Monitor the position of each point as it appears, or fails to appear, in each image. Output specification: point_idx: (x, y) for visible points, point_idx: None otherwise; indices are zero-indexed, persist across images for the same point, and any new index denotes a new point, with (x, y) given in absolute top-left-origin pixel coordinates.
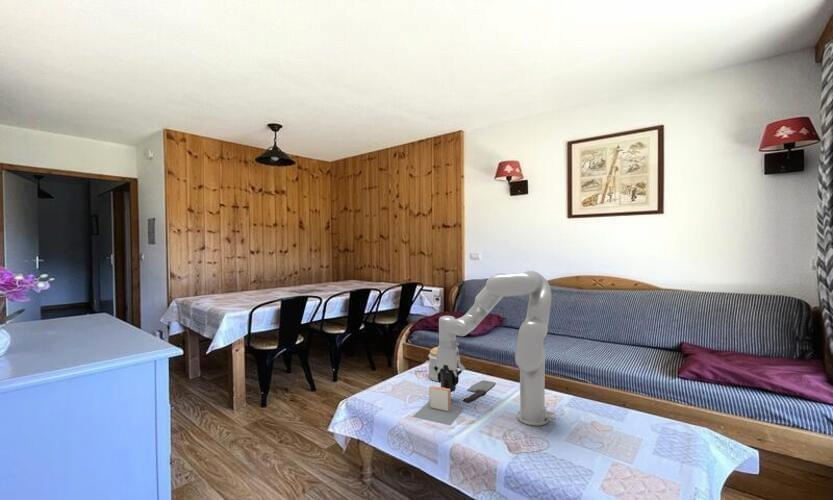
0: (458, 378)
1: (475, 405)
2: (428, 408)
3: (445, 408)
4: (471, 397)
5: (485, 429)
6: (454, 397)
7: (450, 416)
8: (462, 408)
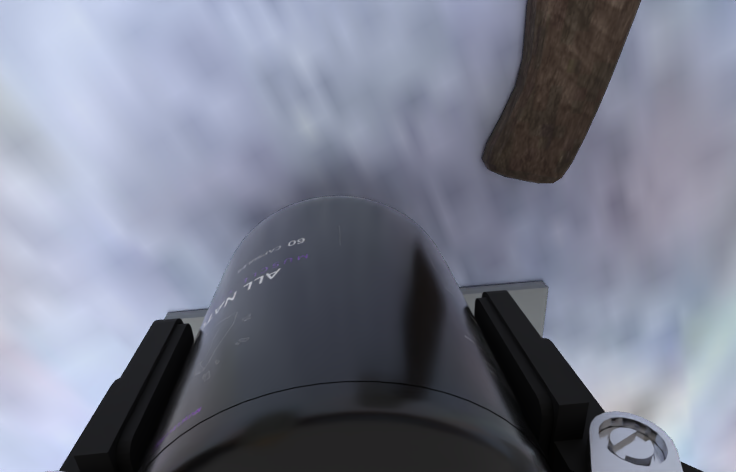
0: (579, 382)
1: (617, 164)
2: None
3: None
4: (580, 91)
5: (730, 455)
6: (340, 83)
7: None
8: (526, 311)
